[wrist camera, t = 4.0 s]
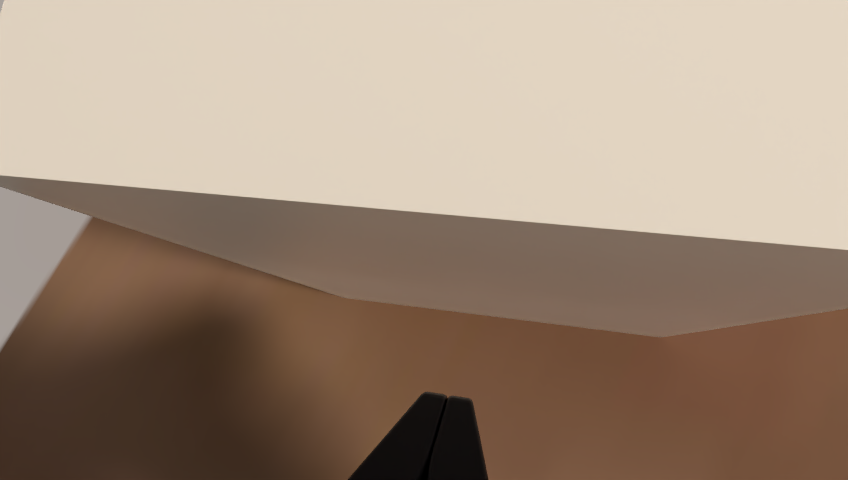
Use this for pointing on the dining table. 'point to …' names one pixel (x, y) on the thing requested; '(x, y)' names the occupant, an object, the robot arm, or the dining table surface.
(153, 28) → the tile
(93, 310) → the dining table surface
